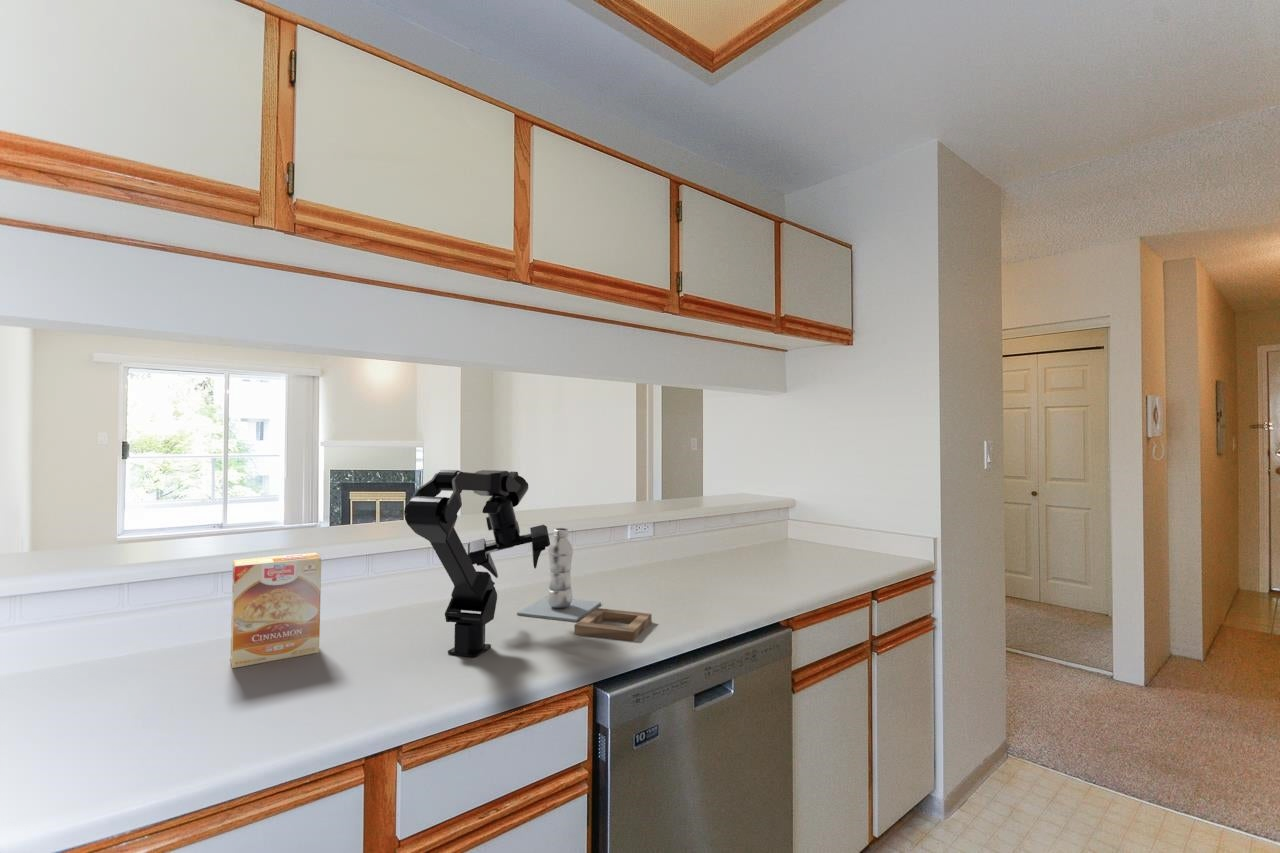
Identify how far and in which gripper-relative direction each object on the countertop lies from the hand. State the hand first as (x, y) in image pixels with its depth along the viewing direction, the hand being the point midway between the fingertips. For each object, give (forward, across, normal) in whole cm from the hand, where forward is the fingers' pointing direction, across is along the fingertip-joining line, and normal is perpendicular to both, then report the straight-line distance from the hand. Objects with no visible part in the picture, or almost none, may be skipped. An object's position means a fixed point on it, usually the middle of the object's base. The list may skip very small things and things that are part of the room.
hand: (516, 572), depth 146 cm
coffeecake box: (-6, +48, +16) cm, 51 cm away
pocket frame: (+11, -20, +15) cm, 27 cm away
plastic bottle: (+15, -8, -1) cm, 17 cm away
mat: (+15, -8, -1) cm, 18 cm away
